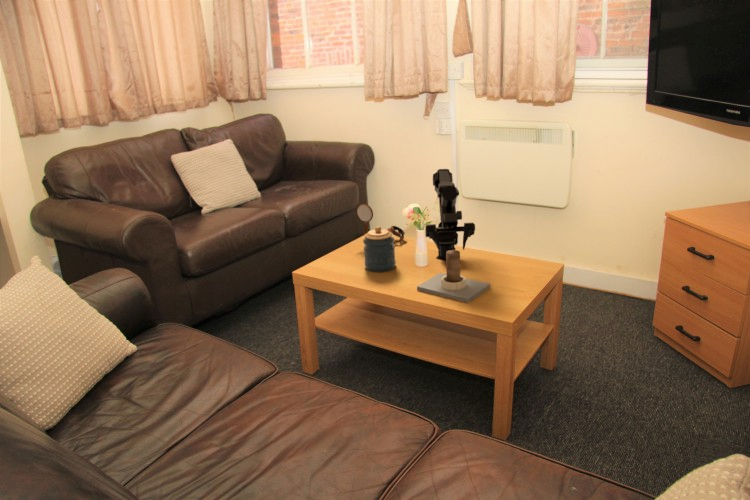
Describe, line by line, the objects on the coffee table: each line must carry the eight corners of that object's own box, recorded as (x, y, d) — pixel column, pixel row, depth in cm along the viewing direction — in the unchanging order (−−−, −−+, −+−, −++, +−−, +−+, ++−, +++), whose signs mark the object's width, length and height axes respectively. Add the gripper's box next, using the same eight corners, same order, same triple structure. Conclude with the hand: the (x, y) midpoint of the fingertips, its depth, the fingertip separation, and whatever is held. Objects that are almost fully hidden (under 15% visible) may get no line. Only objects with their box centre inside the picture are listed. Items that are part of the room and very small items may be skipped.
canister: (386, 274, 238) (384, 232, 232) (359, 270, 244) (356, 229, 238) (401, 263, 248) (399, 223, 243) (374, 259, 255) (372, 220, 249)
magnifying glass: (358, 244, 274) (355, 203, 268) (360, 243, 276) (357, 202, 269) (373, 247, 270) (371, 205, 263) (375, 246, 271) (373, 204, 264)
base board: (417, 290, 221) (416, 280, 220) (440, 276, 233) (440, 266, 232) (468, 303, 208) (468, 292, 207) (490, 287, 220) (490, 277, 218)
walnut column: (444, 284, 221) (443, 251, 217) (455, 281, 223) (455, 249, 219) (451, 288, 217) (450, 255, 213) (462, 285, 219) (462, 253, 214)
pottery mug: (388, 237, 283) (396, 223, 280) (402, 249, 279) (410, 235, 276) (373, 238, 273) (381, 224, 270) (387, 250, 269) (396, 236, 266)
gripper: (424, 204, 223) (427, 241, 216) (474, 202, 222) (478, 239, 215) (424, 218, 233) (426, 254, 226) (472, 216, 232) (475, 252, 225)
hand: (451, 249), depth 223 cm, fingers open, 9 cm apart
